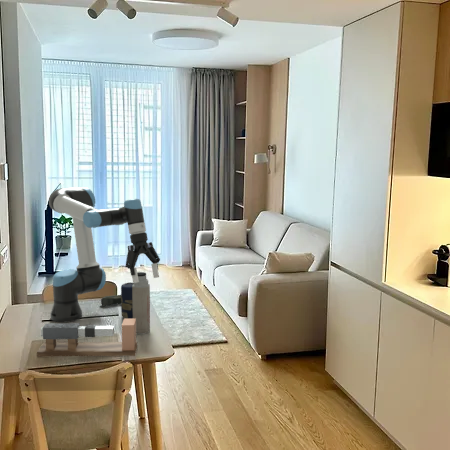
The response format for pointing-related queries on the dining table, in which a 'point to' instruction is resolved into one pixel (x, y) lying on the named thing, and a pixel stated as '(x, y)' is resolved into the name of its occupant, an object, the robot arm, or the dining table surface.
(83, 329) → the telescoping tube
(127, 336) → the terracotta socket block
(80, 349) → the walnut base board
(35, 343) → the dining table surface
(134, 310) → the thermos bottle
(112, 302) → the dark green bar
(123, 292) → the canister
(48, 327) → the charcoal sleeve
